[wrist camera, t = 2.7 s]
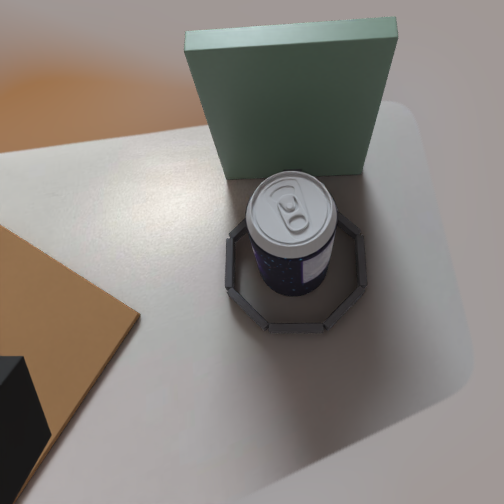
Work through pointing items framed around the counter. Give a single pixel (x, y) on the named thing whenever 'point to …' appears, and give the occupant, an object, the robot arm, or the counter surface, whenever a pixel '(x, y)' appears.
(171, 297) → the counter surface
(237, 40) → the green panel with ring
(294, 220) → the beverage can
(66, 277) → the cork mat
